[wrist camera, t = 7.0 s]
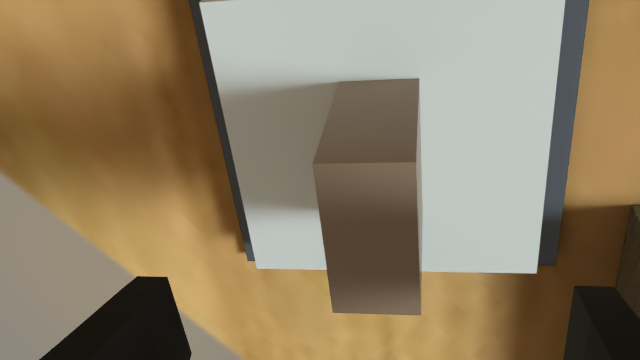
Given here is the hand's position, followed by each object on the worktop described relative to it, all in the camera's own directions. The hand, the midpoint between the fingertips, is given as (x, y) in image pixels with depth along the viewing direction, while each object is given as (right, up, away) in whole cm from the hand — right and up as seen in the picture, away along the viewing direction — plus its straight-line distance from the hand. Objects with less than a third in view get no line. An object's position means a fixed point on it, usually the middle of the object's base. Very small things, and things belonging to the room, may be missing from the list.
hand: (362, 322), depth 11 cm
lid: (+1, +4, +6) cm, 7 cm away
